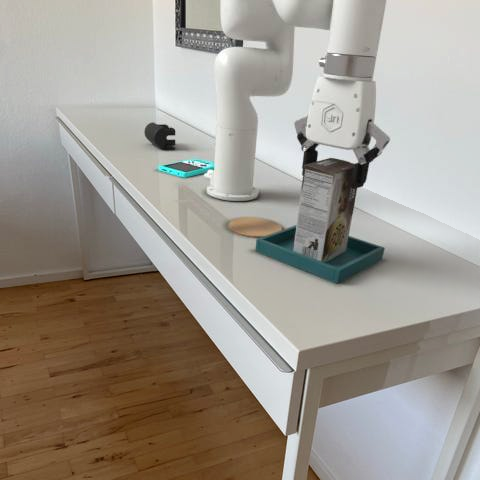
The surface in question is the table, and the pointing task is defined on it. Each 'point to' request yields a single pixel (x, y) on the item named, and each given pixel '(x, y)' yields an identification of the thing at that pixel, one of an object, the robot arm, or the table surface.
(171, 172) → the handheld game console
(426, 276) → the table surface
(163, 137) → the end cap
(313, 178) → the coffee box
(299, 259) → the tray
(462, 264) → the table surface
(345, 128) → the robot arm
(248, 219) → the coaster
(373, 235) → the table surface
